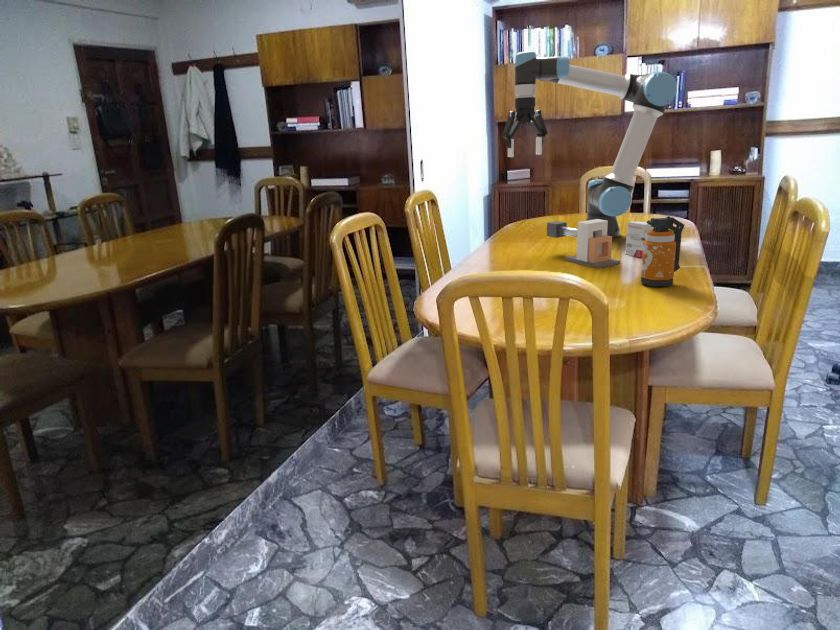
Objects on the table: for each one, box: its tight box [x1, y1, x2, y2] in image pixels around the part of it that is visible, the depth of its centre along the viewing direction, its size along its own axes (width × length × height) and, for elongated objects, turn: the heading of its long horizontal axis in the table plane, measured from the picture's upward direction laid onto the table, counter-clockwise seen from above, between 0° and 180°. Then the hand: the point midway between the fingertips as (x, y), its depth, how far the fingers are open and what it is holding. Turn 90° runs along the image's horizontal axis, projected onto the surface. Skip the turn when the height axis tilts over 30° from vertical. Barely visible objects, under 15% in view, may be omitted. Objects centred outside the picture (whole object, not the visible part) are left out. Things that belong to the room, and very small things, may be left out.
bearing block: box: [564, 219, 621, 269], centre depth 212 cm, size 16×10×14 cm, turn 30°
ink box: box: [624, 220, 654, 259], centre depth 218 cm, size 8×5×12 cm, turn 26°
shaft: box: [546, 220, 596, 239], centre depth 220 cm, size 20×5×5 cm, turn 30°
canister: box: [640, 215, 686, 288], centre depth 180 cm, size 9×11×20 cm
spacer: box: [589, 236, 613, 263], centre depth 209 cm, size 2×8×8 cm, turn 120°
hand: (524, 155), depth 236 cm, fingers open, 13 cm apart
